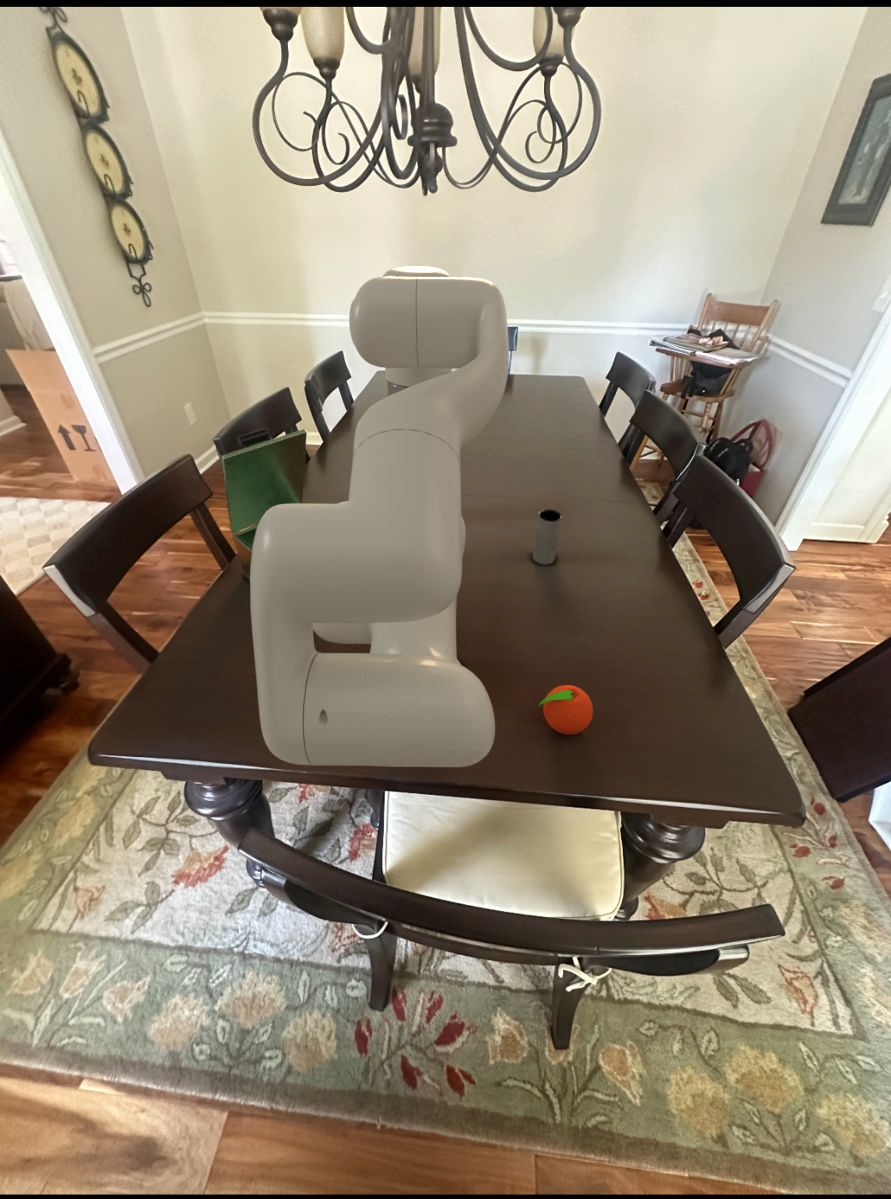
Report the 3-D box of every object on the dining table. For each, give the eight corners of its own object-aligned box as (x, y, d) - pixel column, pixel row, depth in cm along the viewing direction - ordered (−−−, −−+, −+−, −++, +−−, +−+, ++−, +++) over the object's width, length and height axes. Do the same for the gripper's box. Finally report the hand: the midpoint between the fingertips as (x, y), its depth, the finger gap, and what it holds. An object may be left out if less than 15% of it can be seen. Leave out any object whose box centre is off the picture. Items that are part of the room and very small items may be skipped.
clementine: (538, 746, 73) (545, 716, 68) (528, 706, 78) (534, 676, 73) (594, 742, 73) (604, 712, 69) (580, 703, 78) (589, 672, 74)
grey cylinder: (551, 567, 104) (558, 523, 97) (529, 561, 106) (535, 518, 99) (557, 554, 107) (564, 512, 100) (536, 549, 109) (542, 507, 102)
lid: (306, 431, 87) (289, 412, 88) (223, 458, 79) (206, 437, 80) (302, 505, 102) (287, 487, 103) (232, 534, 94) (217, 514, 96)
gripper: (360, 378, 64) (372, 501, 75) (424, 424, 52) (427, 562, 63) (414, 370, 67) (418, 490, 78) (486, 412, 55) (479, 546, 66)
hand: (422, 522), depth 70 cm, fingers open, 9 cm apart
